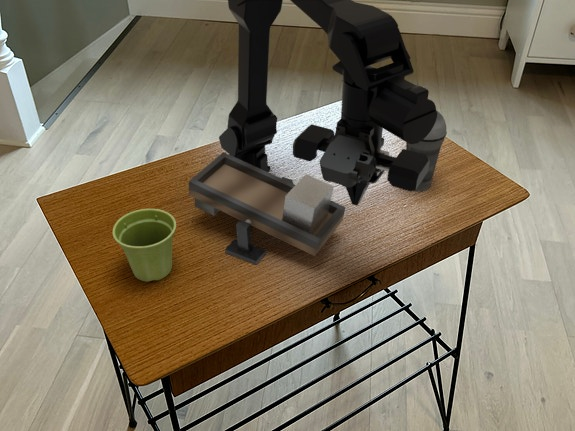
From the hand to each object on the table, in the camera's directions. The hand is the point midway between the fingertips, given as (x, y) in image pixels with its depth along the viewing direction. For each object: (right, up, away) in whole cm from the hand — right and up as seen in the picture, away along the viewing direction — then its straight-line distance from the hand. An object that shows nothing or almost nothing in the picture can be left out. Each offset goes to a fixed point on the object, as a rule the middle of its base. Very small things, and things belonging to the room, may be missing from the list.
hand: (355, 203), depth 91 cm
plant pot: (-32, -10, +6) cm, 34 cm away
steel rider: (-7, -2, +7) cm, 11 cm away
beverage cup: (+14, +4, +23) cm, 28 cm away
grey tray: (-14, -3, +12) cm, 19 cm away
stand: (-14, -4, +13) cm, 20 cm away
